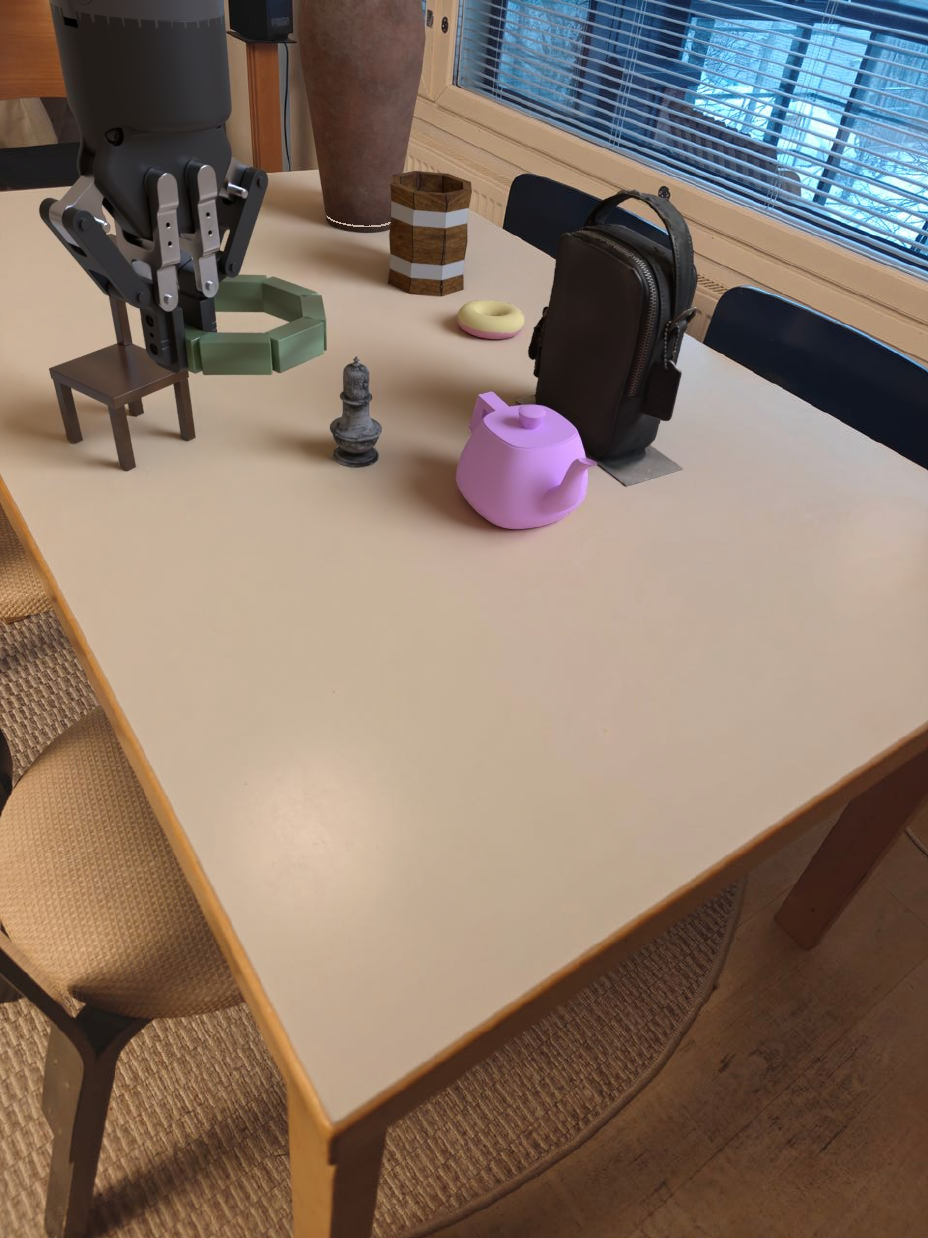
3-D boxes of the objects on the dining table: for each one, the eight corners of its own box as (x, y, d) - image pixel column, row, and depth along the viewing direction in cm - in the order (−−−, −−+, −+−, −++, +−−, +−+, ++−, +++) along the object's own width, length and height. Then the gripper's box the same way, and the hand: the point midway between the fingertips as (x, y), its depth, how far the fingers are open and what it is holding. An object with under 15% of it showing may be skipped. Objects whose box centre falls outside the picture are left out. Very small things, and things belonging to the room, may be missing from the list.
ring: (238, 393, 48) (234, 358, 46) (109, 336, 52) (103, 303, 50) (359, 338, 55) (359, 306, 53) (238, 291, 59) (235, 261, 57)
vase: (395, 196, 177) (404, -85, 148) (429, 239, 159) (448, -72, 129) (291, 195, 171) (279, -97, 142) (314, 240, 153) (305, -86, 123)
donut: (518, 357, 128) (518, 323, 134) (527, 330, 125) (527, 297, 131) (453, 341, 127) (456, 308, 133) (460, 313, 123) (463, 280, 129)
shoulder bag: (683, 468, 103) (755, 223, 85) (626, 486, 99) (689, 232, 81) (568, 389, 117) (608, 162, 99) (514, 401, 113) (545, 167, 94)
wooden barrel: (479, 293, 141) (489, 194, 131) (402, 299, 136) (406, 197, 126) (434, 252, 154) (440, 159, 144) (362, 256, 149) (363, 160, 139)
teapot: (525, 571, 85) (541, 475, 78) (423, 473, 97) (429, 381, 90) (626, 537, 91) (650, 444, 84) (518, 448, 103) (531, 361, 96)
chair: (127, 472, 92) (77, 216, 75) (65, 440, 96) (4, 189, 79) (201, 435, 99) (170, 193, 82) (141, 407, 103) (100, 170, 86)
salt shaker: (348, 473, 96) (348, 373, 88) (320, 450, 99) (317, 351, 91) (391, 459, 99) (395, 361, 91) (362, 437, 102) (363, 340, 94)
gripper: (194, -17, 45) (225, 312, 56) (-57, -12, 36) (40, 379, 47) (304, 6, 42) (312, 347, 53) (61, 18, 33) (133, 426, 44)
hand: (184, 361), depth 50 cm, fingers closed on ring, 1 cm apart
